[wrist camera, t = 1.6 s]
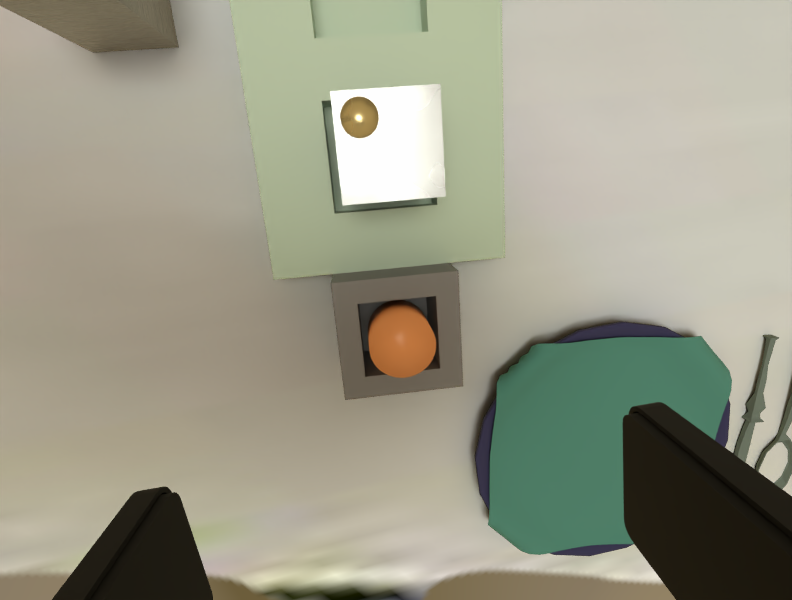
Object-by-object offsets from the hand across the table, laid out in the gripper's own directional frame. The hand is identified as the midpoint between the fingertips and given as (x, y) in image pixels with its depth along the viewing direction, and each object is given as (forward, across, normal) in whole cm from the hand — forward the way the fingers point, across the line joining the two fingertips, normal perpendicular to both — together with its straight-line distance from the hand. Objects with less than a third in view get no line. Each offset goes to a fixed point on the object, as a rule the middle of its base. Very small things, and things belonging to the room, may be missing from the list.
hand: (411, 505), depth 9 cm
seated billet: (+20, -1, -8) cm, 22 cm away
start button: (+17, -1, +2) cm, 17 cm away
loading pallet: (+20, -1, -9) cm, 22 cm away
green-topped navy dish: (+22, -20, +16) cm, 33 cm away
